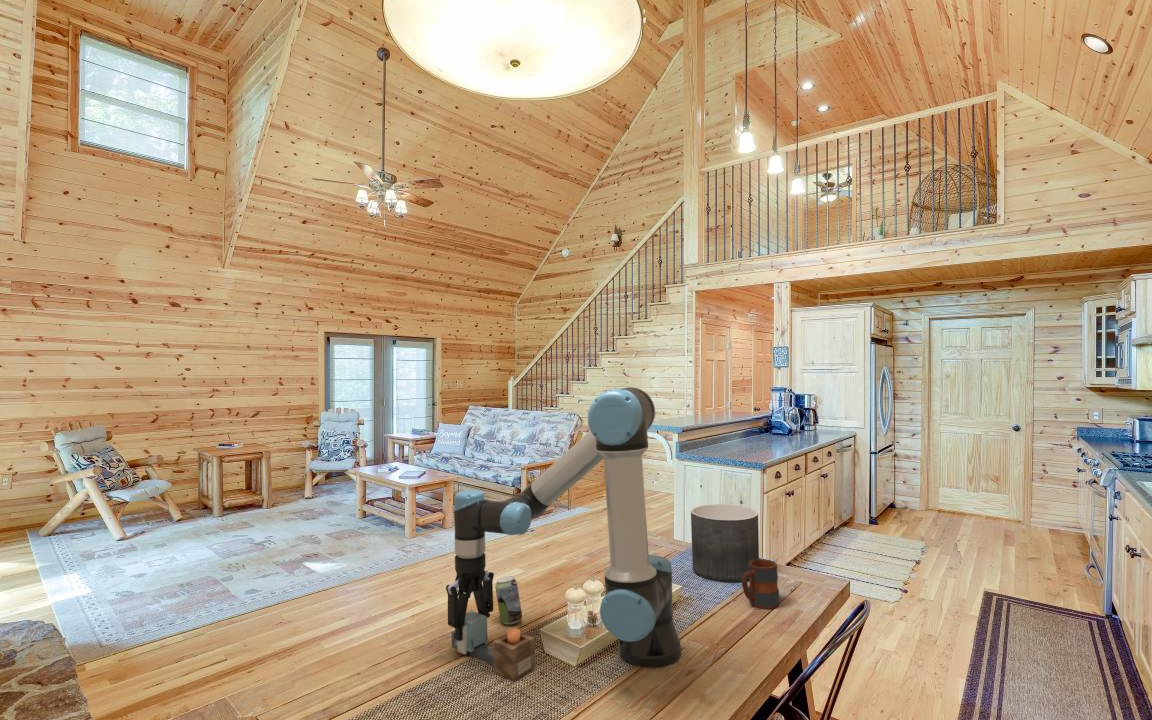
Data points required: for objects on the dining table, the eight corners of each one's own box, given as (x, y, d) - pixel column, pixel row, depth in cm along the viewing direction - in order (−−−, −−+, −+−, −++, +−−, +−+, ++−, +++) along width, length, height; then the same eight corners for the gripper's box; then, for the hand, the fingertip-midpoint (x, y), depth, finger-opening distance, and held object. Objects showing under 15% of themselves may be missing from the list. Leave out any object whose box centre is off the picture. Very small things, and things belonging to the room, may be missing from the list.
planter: (757, 562, 203) (755, 505, 203) (762, 585, 181) (760, 521, 182) (693, 558, 208) (691, 503, 208) (691, 580, 186) (689, 518, 187)
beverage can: (518, 627, 155) (517, 583, 155) (492, 626, 156) (491, 581, 156) (525, 617, 161) (524, 574, 161) (500, 616, 162) (499, 573, 163)
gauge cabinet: (535, 668, 133) (535, 638, 133) (513, 681, 128) (513, 649, 128) (515, 659, 138) (514, 630, 138) (493, 671, 132) (493, 641, 132)
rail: (509, 663, 136) (509, 648, 136) (500, 668, 134) (499, 653, 134) (461, 641, 148) (460, 627, 148) (451, 645, 145) (451, 631, 145)
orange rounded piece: (523, 645, 133) (522, 630, 133) (513, 650, 131) (513, 635, 131) (514, 641, 135) (513, 626, 135) (504, 646, 133) (504, 631, 133)
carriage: (487, 644, 143) (487, 616, 143) (471, 652, 139) (470, 623, 139) (472, 637, 146) (471, 610, 147) (455, 645, 142) (455, 617, 143)
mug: (733, 603, 168) (732, 563, 168) (764, 595, 173) (763, 556, 173) (753, 614, 160) (752, 572, 160) (786, 606, 165) (785, 565, 165)
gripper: (487, 542, 152) (489, 630, 152) (430, 560, 138) (431, 657, 138) (507, 547, 148) (509, 638, 147) (449, 566, 134) (451, 667, 133)
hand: (471, 647), depth 143 cm, fingers closed on carriage, 5 cm apart
